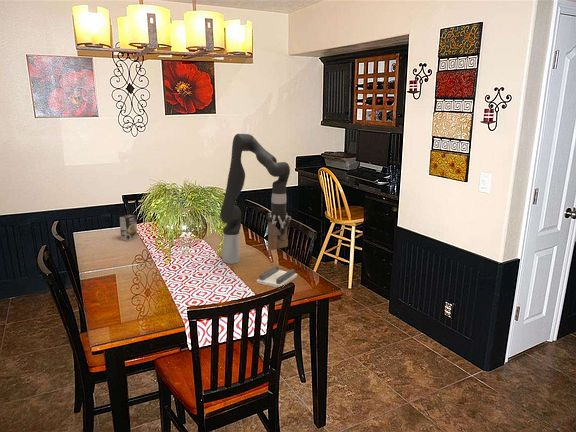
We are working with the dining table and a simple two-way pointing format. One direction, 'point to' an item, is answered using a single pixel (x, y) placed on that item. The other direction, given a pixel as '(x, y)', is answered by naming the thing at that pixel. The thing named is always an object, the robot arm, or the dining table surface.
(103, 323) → the dining table surface
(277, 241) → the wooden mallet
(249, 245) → the dining table surface
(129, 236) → the coffee box
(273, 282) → the slotted base
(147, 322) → the dining table surface
